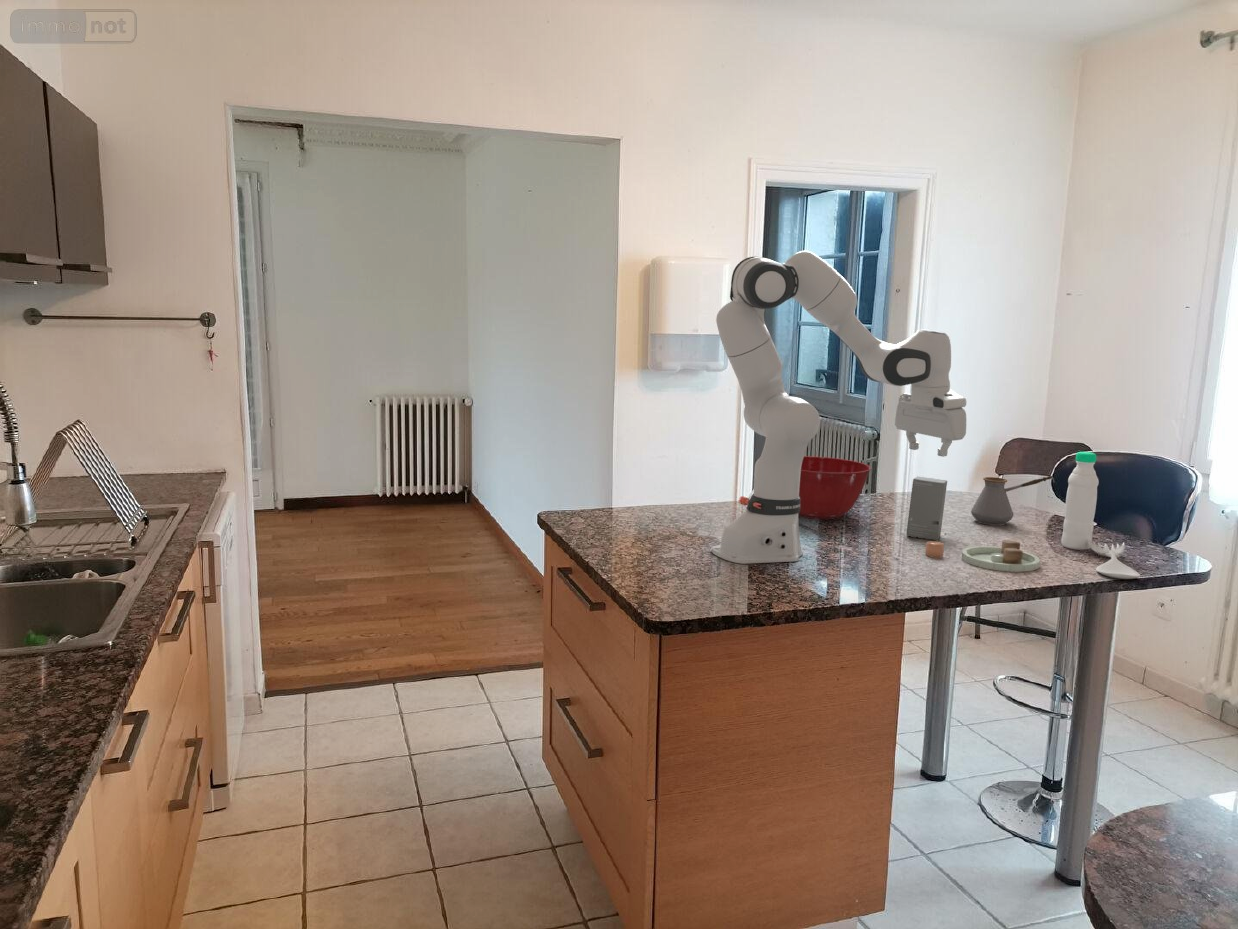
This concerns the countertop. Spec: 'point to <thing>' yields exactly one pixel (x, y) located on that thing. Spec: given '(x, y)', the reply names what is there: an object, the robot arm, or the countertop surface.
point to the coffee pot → (996, 501)
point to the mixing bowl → (830, 486)
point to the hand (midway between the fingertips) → (927, 452)
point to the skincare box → (926, 508)
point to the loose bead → (934, 549)
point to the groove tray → (997, 559)
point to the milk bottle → (1080, 503)
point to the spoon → (1113, 562)
